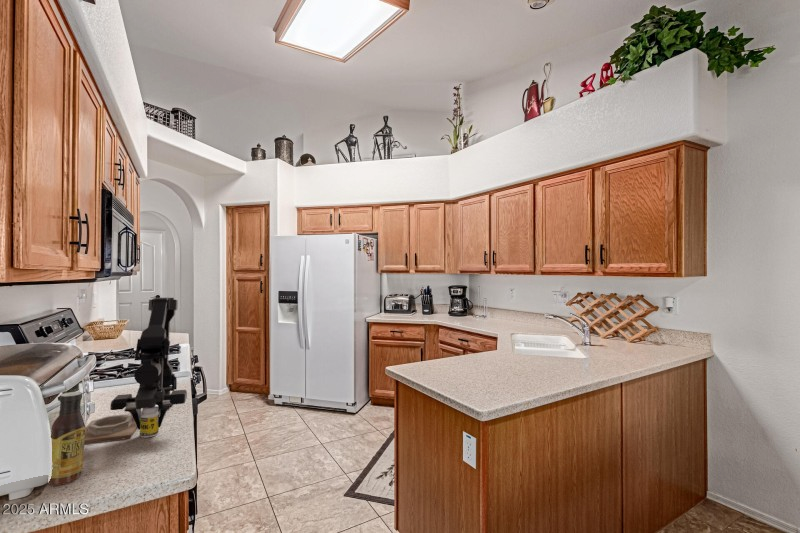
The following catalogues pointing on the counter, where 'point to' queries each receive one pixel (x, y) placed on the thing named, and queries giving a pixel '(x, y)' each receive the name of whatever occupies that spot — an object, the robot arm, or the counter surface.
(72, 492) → the counter surface
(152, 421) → the supplement bottle
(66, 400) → the sauce bottle
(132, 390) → the counter surface
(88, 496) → the counter surface
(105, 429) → the brown board with ring
